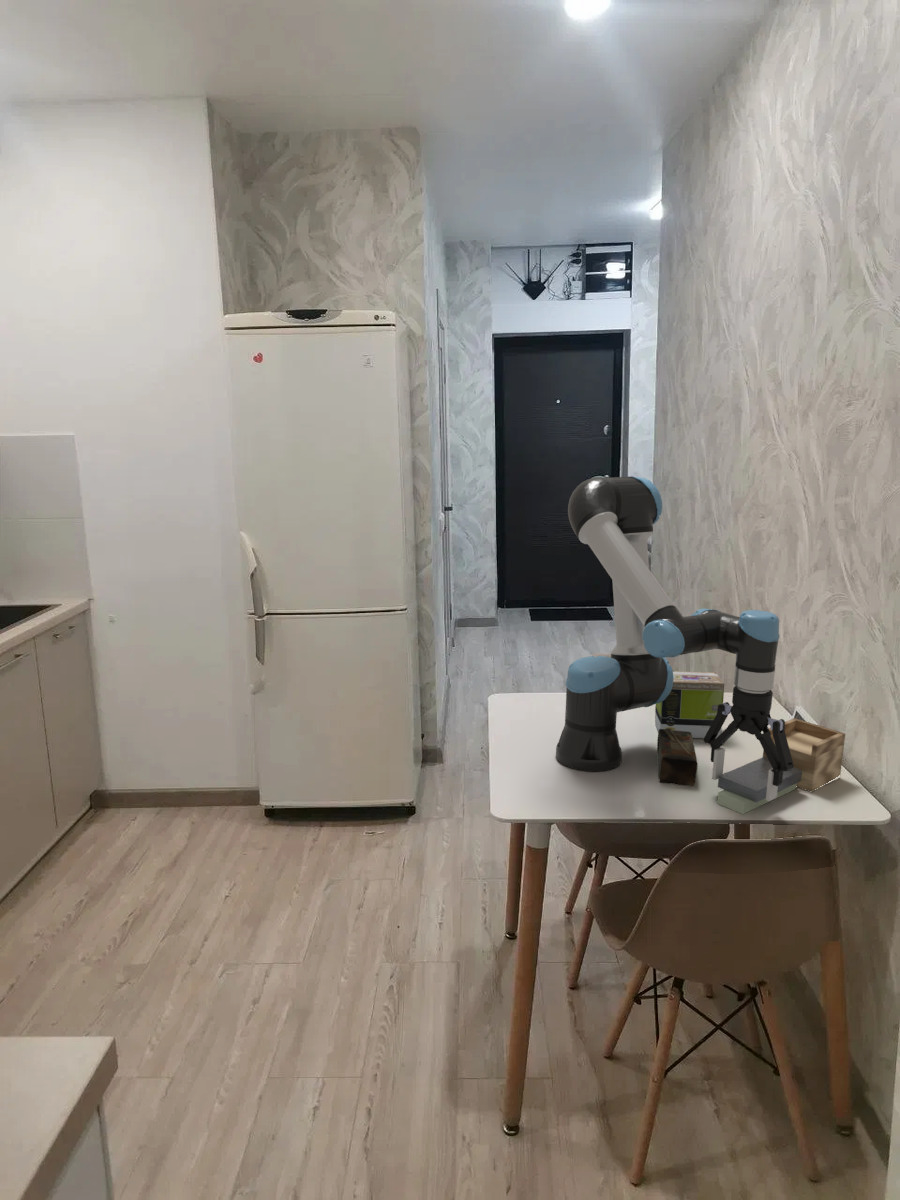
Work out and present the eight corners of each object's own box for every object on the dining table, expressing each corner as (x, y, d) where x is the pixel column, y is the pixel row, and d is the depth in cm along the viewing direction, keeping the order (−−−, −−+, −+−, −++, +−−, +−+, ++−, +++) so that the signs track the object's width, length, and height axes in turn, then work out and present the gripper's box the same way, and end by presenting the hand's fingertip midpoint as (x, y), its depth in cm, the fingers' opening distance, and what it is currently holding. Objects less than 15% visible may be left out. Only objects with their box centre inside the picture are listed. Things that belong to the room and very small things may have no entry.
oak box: (811, 792, 183) (816, 746, 181) (761, 773, 193) (765, 729, 190) (839, 778, 191) (845, 733, 189) (789, 760, 200) (794, 718, 198)
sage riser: (742, 814, 173) (744, 802, 172) (717, 803, 177) (718, 792, 177) (796, 788, 185) (797, 777, 185) (770, 779, 190) (771, 768, 189)
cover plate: (756, 802, 172) (757, 790, 172) (717, 787, 179) (718, 776, 179) (800, 781, 183) (802, 770, 182) (762, 767, 190) (763, 756, 189)
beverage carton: (690, 754, 203) (692, 728, 202) (696, 788, 185) (698, 760, 184) (656, 751, 205) (658, 725, 203) (658, 785, 187) (660, 756, 185)
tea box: (712, 726, 221) (717, 671, 218) (720, 740, 212) (726, 683, 208) (653, 723, 223) (657, 668, 220) (658, 737, 213) (662, 680, 210)
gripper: (820, 700, 166) (808, 804, 170) (712, 670, 184) (704, 764, 189) (799, 708, 161) (787, 814, 166) (691, 676, 179) (683, 773, 184)
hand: (743, 788), depth 177 cm, fingers open, 12 cm apart
